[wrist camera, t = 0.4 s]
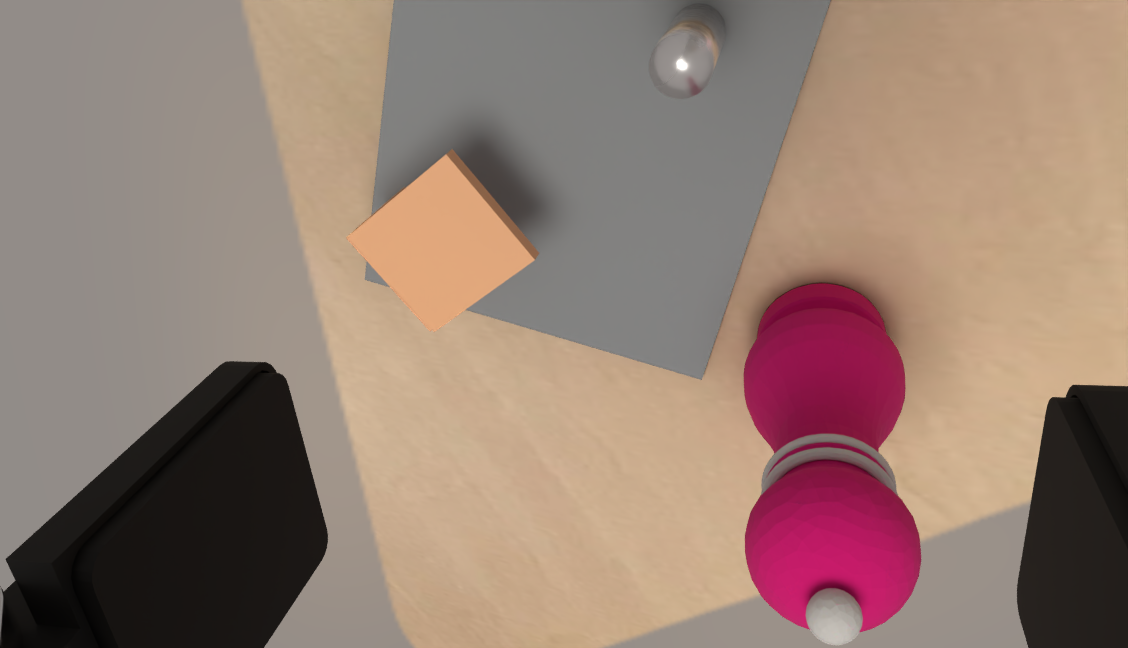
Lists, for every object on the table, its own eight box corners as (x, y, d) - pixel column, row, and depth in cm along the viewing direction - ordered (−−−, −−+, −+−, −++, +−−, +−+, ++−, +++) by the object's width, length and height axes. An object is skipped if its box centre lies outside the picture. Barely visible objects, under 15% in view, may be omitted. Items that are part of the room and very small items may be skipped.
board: (441, -399, 35) (435, -403, 35) (928, -292, 33) (930, -294, 33) (369, 275, 50) (364, 279, 50) (702, 373, 48) (701, 379, 48)
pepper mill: (732, 379, 48) (697, 679, 31) (768, 257, 45) (750, 521, 27) (869, 413, 47) (911, 742, 30) (917, 292, 44) (995, 586, 26)
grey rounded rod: (678, -3, 39) (657, 26, 33) (732, 11, 39) (721, 42, 33) (664, 52, 40) (641, 89, 34) (716, 66, 40) (703, 106, 34)
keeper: (488, 116, 44) (446, 154, 39) (565, 211, 46) (535, 259, 40) (389, 198, 48) (338, 244, 42) (464, 284, 49) (424, 339, 44)
